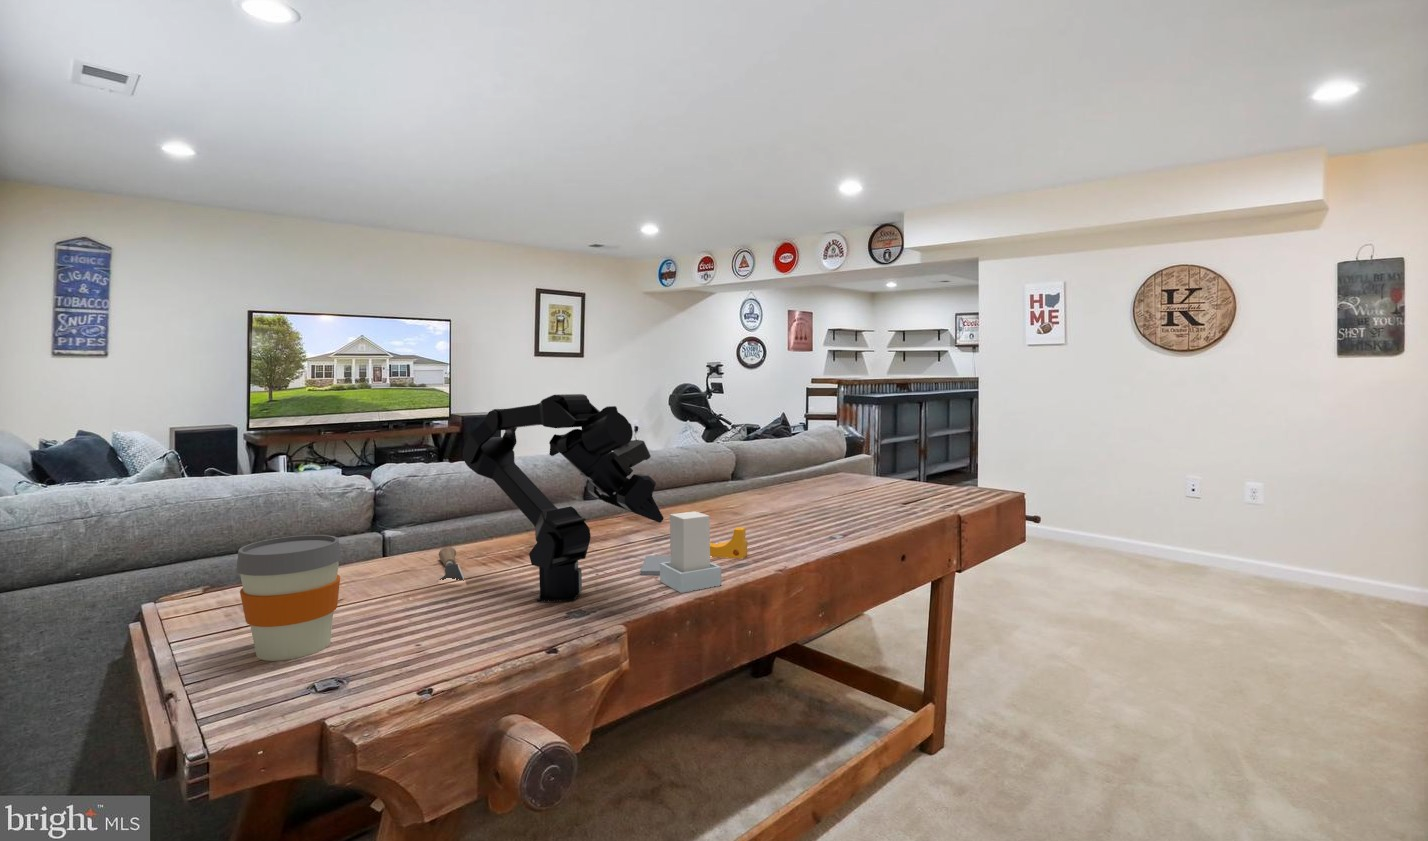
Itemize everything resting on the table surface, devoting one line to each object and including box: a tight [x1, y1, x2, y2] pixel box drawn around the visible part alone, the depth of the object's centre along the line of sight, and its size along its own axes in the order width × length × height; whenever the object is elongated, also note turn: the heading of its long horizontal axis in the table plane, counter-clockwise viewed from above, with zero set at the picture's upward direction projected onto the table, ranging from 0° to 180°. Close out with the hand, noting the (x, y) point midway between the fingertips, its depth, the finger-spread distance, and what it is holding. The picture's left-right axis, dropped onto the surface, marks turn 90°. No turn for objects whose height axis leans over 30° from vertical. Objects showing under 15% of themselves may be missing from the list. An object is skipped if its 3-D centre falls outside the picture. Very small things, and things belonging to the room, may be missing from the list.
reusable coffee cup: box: [236, 534, 342, 662], centre depth 94 cm, size 13×13×15 cm
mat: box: [639, 554, 670, 576], centre depth 135 cm, size 12×12×1 cm
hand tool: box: [438, 546, 465, 581], centre depth 132 cm, size 6×3×25 cm
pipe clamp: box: [710, 526, 748, 559], centre depth 145 cm, size 12×4×6 cm, turn 75°
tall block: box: [669, 511, 711, 573], centre depth 123 cm, size 6×6×13 cm
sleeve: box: [659, 561, 722, 594], centre depth 123 cm, size 8×8×4 cm
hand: (650, 516), depth 119 cm, fingers open, 9 cm apart
